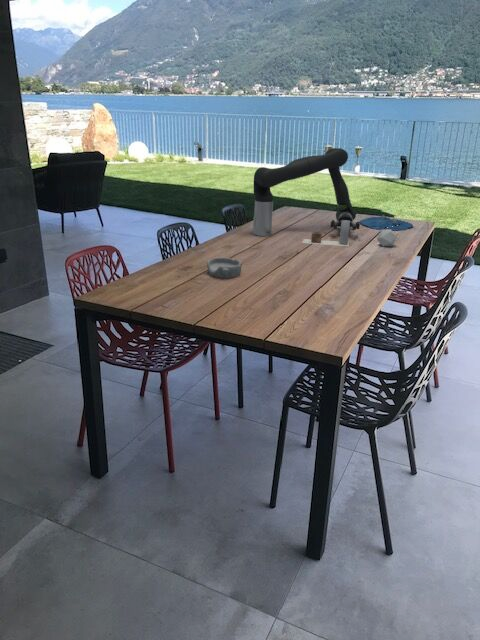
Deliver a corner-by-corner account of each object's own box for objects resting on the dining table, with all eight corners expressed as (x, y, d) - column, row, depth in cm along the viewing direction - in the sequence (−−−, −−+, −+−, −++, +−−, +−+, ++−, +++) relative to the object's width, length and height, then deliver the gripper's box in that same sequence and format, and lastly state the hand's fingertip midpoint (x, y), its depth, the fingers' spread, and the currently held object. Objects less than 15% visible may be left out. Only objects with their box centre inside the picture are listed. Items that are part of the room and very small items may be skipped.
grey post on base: (301, 244, 255) (303, 219, 250) (303, 240, 262) (305, 216, 258) (348, 248, 251) (351, 223, 247) (348, 244, 259) (351, 219, 254)
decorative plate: (419, 234, 292) (421, 225, 290) (365, 232, 292) (366, 222, 290) (405, 221, 319) (406, 212, 317) (355, 218, 319) (356, 210, 317)
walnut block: (311, 242, 256) (311, 233, 254) (311, 240, 260) (312, 231, 258) (320, 243, 255) (321, 234, 253) (321, 241, 259) (321, 232, 257)
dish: (229, 281, 203) (229, 269, 201) (199, 274, 209) (199, 262, 207) (248, 272, 214) (249, 260, 212) (220, 266, 221) (220, 254, 219)
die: (393, 250, 255) (402, 232, 256) (378, 241, 254) (388, 223, 254) (385, 251, 263) (394, 235, 264) (371, 243, 262) (380, 226, 262)
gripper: (332, 212, 275) (331, 219, 261) (360, 214, 273) (360, 221, 258) (330, 227, 278) (329, 234, 263) (358, 229, 276) (358, 236, 261)
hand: (344, 227), depth 261 cm, fingers open, 8 cm apart
